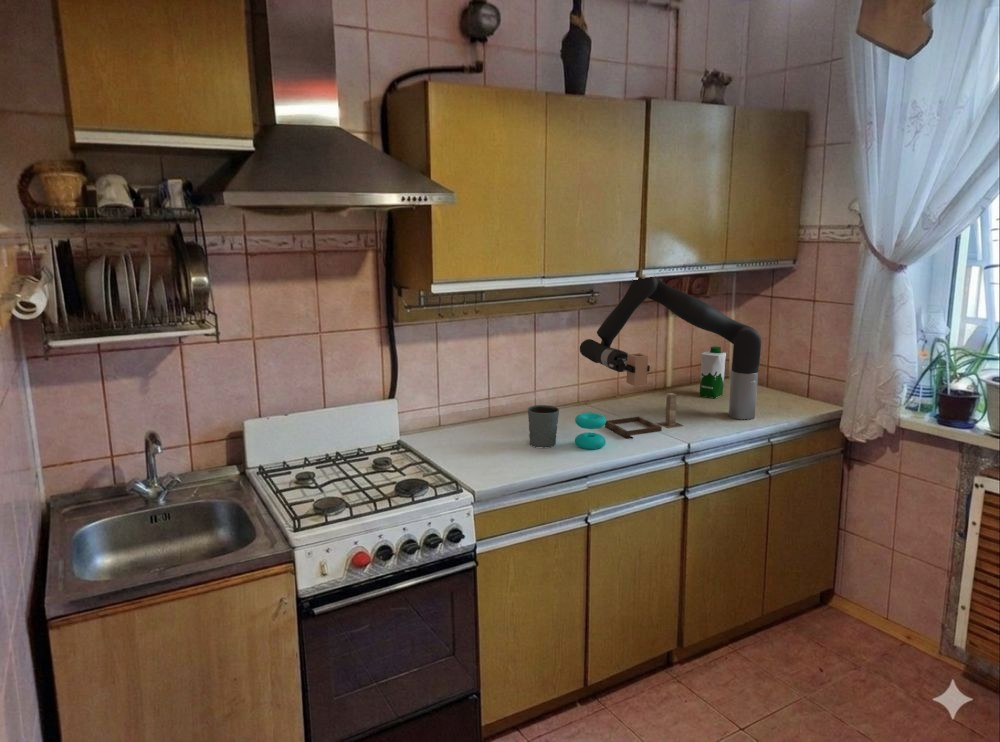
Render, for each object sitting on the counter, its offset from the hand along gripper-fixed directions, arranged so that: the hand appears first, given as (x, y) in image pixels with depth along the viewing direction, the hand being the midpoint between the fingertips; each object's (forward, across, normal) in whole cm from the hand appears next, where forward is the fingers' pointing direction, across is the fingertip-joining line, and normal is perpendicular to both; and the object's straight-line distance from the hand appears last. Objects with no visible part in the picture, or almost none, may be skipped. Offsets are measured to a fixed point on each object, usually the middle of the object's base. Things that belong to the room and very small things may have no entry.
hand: (641, 369), depth 236 cm
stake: (0, +13, +22) cm, 26 cm away
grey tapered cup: (-1, -36, +23) cm, 42 cm away
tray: (-2, -1, +22) cm, 22 cm away
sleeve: (-3, 0, +6) cm, 6 cm away
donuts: (+6, -22, +23) cm, 32 cm away
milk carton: (-30, +54, +22) cm, 66 cm away
